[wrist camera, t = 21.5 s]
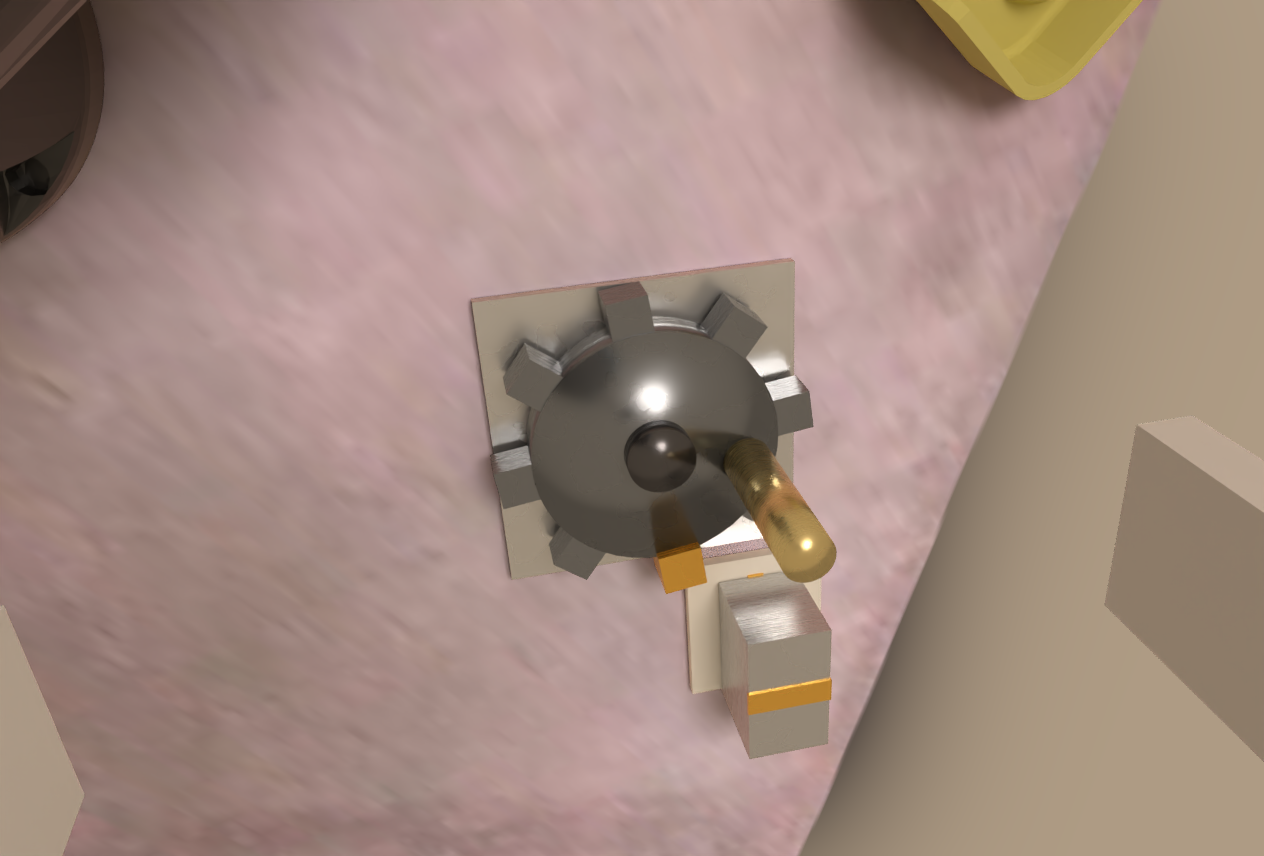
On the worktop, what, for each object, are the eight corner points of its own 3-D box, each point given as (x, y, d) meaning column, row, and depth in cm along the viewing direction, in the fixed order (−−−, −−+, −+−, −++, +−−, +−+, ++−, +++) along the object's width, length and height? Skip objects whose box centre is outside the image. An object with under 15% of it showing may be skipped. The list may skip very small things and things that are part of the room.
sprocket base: (510, 573, 49) (511, 579, 49) (471, 298, 43) (471, 302, 43) (789, 527, 51) (793, 532, 51) (790, 258, 45) (794, 261, 45)
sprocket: (522, 262, 42) (552, 353, 33) (830, 307, 46) (931, 400, 37) (472, 551, 48) (487, 694, 39) (751, 571, 51) (822, 706, 42)
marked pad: (690, 686, 55) (693, 695, 54) (683, 562, 51) (686, 570, 51) (815, 663, 56) (819, 671, 55) (818, 539, 52) (822, 546, 52)
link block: (720, 691, 54) (749, 760, 50) (717, 582, 51) (747, 646, 47) (795, 677, 55) (829, 745, 51) (796, 569, 52) (833, 631, 47)
